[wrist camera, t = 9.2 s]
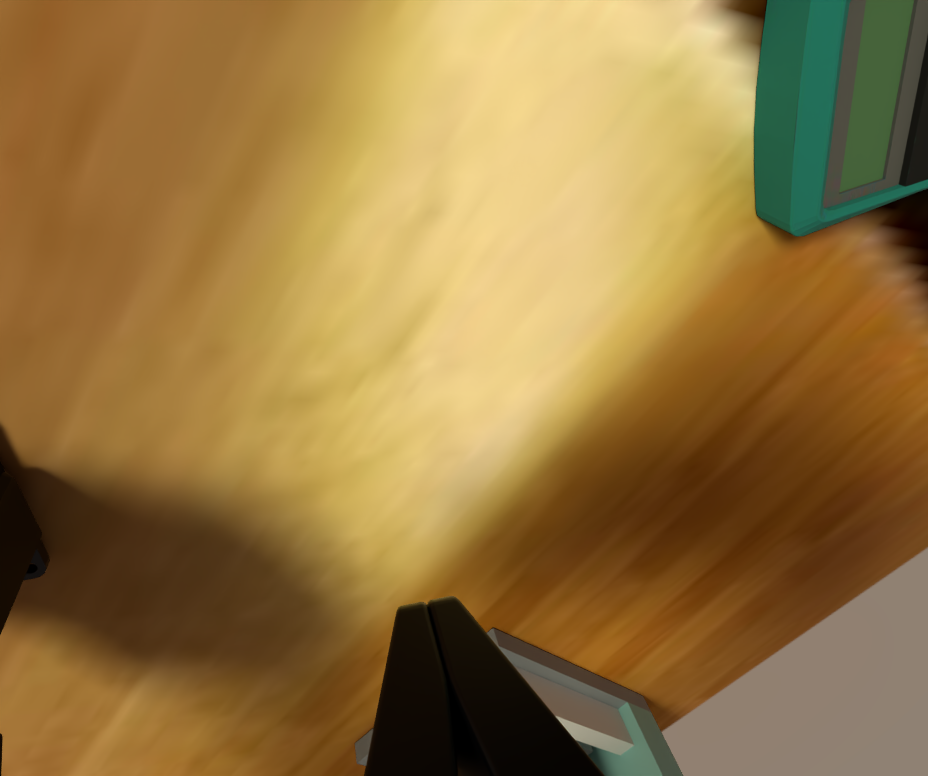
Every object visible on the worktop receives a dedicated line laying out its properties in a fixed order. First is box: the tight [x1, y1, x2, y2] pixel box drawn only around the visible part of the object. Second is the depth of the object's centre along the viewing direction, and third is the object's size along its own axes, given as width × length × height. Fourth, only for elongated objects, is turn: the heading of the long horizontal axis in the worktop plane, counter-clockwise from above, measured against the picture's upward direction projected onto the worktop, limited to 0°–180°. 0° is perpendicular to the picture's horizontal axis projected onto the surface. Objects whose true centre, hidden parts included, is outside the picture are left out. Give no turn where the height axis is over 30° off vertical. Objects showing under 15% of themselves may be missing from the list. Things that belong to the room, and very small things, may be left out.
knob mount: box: [355, 628, 683, 776], centre depth 32 cm, size 13×10×6 cm
